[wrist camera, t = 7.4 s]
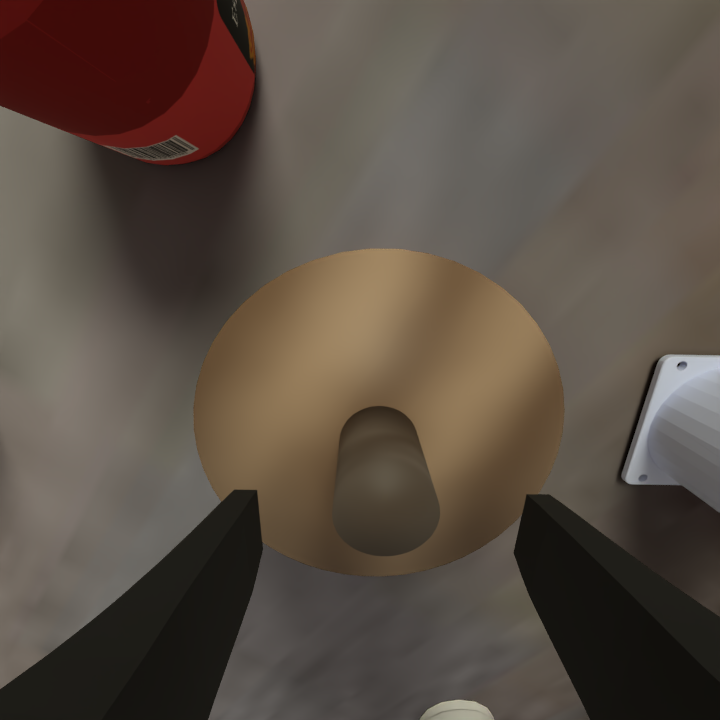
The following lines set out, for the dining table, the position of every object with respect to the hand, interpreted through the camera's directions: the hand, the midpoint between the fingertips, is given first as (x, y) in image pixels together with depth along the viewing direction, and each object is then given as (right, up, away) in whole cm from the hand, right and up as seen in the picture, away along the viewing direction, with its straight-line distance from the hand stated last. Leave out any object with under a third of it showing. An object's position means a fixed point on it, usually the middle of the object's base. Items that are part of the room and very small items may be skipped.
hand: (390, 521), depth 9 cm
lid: (0, +1, +6) cm, 6 cm away
